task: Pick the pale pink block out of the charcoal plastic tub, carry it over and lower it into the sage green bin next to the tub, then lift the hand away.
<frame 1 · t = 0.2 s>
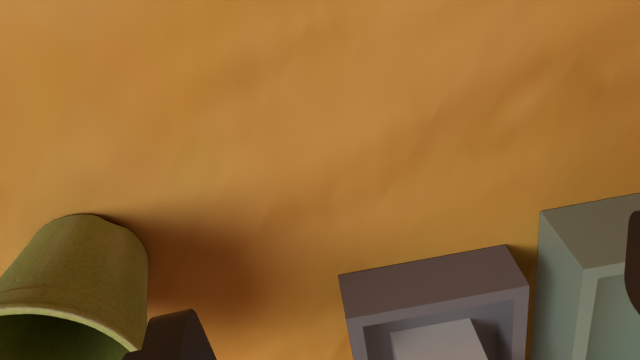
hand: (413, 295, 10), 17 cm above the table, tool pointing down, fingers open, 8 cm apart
charcoal tub: (427, 335, 37), on the table
pale pink block: (431, 347, 36), point 1 cm above the table, touching charcoal tub
plant pot: (93, 254, 31), on the table
sage green bin: (602, 292, 36), on the table
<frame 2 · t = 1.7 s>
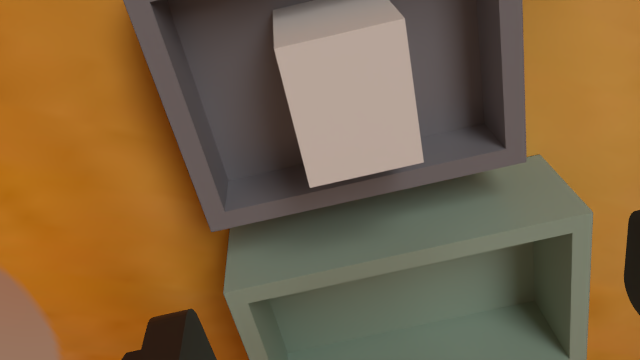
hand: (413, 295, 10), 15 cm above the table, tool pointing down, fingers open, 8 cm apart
charcoal tub: (334, 53, 23), on the table
pale pink block: (337, 60, 22), point 1 cm above the table, touching charcoal tub
sage green bin: (396, 262, 29), on the table
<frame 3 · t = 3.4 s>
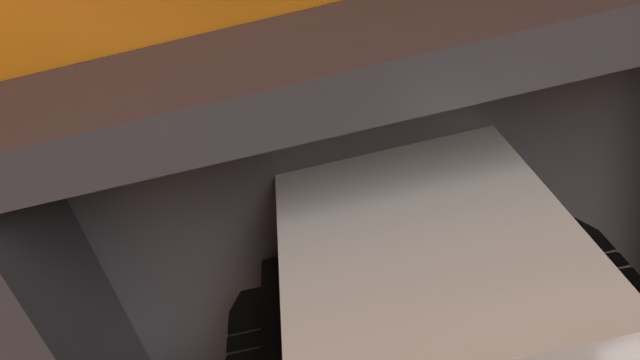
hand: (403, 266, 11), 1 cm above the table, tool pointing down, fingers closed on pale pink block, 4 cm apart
charcoal tub: (392, 229, 12), on the table
pale pink block: (402, 258, 11), point 1 cm above the table, touching charcoal tub, gripper
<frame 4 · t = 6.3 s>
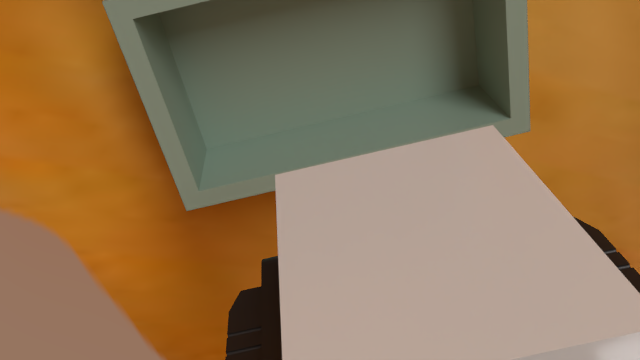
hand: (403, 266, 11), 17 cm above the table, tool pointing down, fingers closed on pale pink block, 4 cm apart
pale pink block: (401, 257, 11), point 17 cm above the table, touching gripper
sage green bin: (323, 37, 26), on the table
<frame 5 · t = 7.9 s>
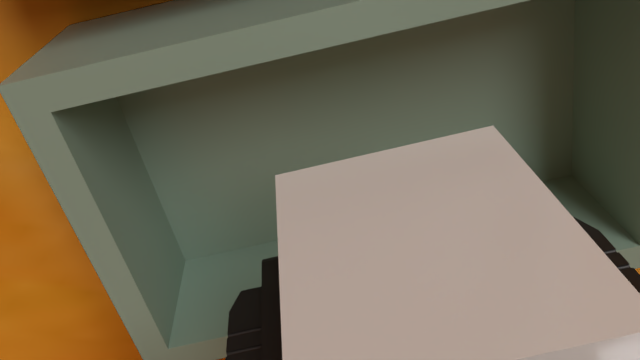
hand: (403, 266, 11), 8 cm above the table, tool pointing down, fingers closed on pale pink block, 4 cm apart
pale pink block: (402, 258, 11), point 8 cm above the table, touching gripper
sage green bin: (353, 108, 18), on the table
when the fingers open (3 cm above the table, at t = 9.2 s): pale pink block drops 2 cm, resting on sage green bin.
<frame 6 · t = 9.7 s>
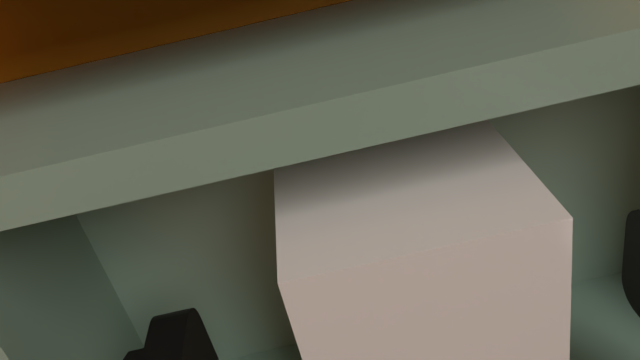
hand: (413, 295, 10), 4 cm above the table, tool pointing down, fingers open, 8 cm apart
pale pink block: (382, 205, 13), point 1 cm above the table, touching sage green bin
sage green bin: (374, 184, 14), on the table
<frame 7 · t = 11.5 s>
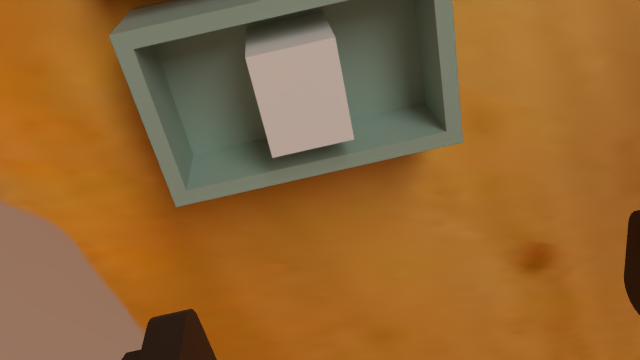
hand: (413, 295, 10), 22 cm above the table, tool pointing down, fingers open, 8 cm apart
pale pink block: (295, 66, 30), point 1 cm above the table, touching sage green bin
sage green bin: (293, 61, 31), on the table
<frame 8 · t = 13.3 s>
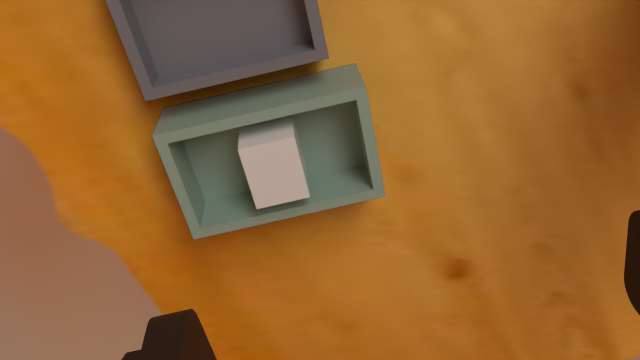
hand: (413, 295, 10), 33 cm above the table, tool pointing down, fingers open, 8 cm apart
pale pink block: (273, 143, 44), point 1 cm above the table, touching sage green bin
sage green bin: (273, 138, 45), on the table
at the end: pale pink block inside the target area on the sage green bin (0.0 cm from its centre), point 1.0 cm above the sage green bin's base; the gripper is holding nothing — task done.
